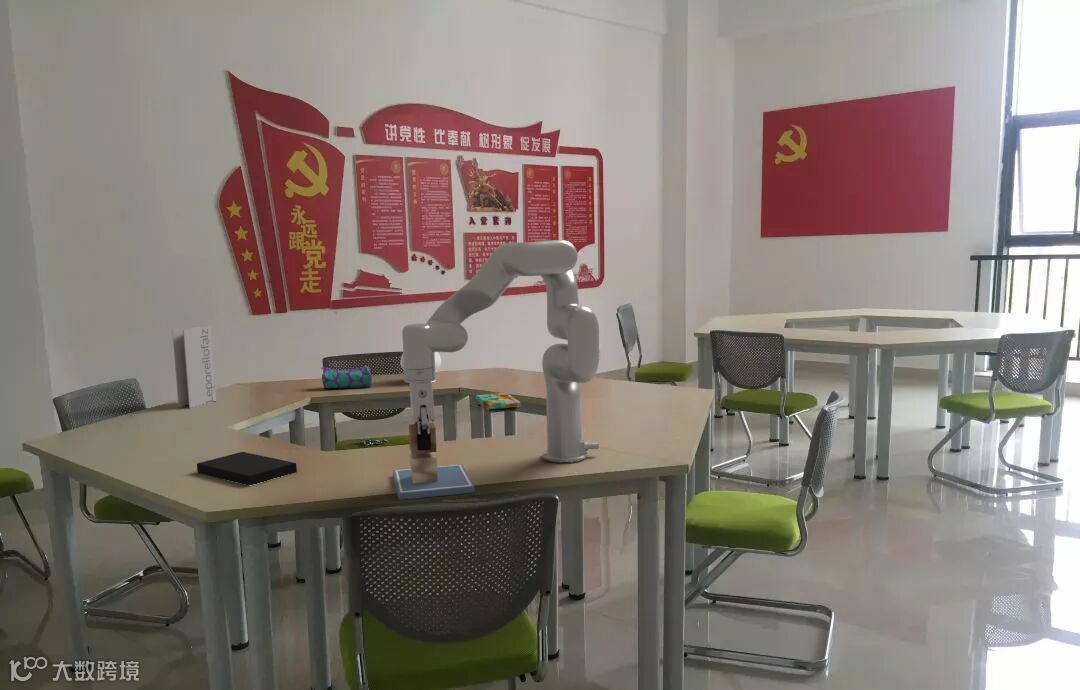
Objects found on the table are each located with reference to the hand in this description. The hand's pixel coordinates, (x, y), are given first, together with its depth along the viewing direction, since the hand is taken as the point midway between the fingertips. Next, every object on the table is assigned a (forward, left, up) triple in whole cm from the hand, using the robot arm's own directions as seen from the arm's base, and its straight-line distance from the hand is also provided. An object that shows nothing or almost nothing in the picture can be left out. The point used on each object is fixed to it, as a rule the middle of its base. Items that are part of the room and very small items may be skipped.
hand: (422, 445), depth 191 cm
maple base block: (0, 0, -8) cm, 8 cm away
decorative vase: (-14, -153, -10) cm, 154 cm away
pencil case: (+18, -149, -10) cm, 151 cm away
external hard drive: (+45, -26, -11) cm, 53 cm away
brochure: (+75, -133, -10) cm, 153 cm away
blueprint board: (-2, 0, -10) cm, 10 cm away
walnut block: (0, 0, -1) cm, 1 cm away
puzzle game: (-35, -85, -10) cm, 92 cm away
